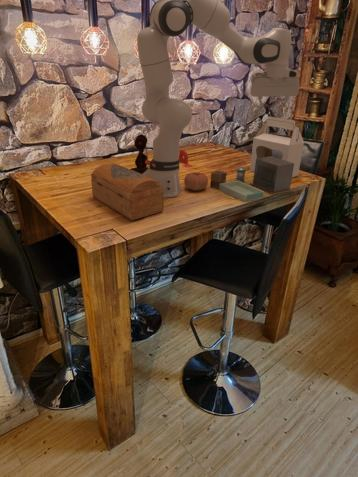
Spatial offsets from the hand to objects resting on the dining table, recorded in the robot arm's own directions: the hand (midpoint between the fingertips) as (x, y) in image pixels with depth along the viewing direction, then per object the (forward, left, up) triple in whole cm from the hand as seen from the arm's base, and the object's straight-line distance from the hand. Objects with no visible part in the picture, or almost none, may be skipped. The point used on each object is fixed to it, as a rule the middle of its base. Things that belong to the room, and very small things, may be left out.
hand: (272, 107), depth 154 cm
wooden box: (-67, +6, -36) cm, 76 cm away
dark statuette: (-46, +37, -35) cm, 69 cm away
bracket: (-17, +45, -36) cm, 60 cm away
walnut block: (-21, +7, -35) cm, 42 cm away
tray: (-17, -5, -35) cm, 40 cm away
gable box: (+20, +13, -35) cm, 42 cm away
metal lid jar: (-7, +8, -35) cm, 37 cm away
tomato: (-32, +9, -35) cm, 49 cm away
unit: (+1, -5, -35) cm, 36 cm away
